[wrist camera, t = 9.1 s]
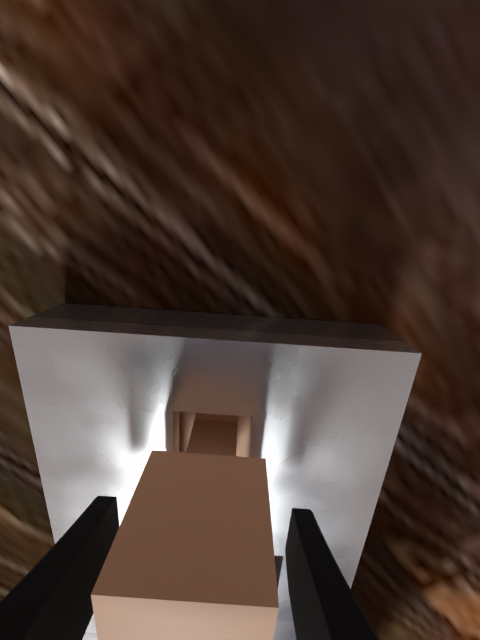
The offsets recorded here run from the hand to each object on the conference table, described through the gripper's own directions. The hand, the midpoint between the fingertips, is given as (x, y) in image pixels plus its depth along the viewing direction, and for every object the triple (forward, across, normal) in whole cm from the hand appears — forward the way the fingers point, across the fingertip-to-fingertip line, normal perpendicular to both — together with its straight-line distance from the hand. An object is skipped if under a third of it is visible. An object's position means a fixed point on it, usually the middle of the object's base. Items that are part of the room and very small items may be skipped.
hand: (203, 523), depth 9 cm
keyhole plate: (+5, 0, +4) cm, 6 cm away
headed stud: (+5, 0, 0) cm, 5 cm away
